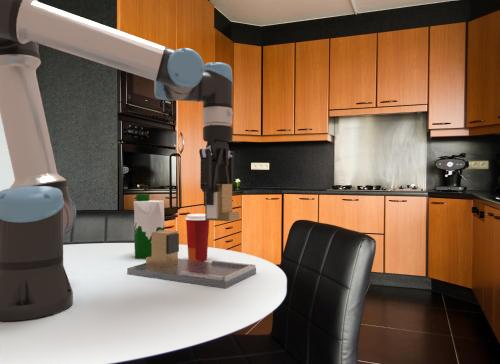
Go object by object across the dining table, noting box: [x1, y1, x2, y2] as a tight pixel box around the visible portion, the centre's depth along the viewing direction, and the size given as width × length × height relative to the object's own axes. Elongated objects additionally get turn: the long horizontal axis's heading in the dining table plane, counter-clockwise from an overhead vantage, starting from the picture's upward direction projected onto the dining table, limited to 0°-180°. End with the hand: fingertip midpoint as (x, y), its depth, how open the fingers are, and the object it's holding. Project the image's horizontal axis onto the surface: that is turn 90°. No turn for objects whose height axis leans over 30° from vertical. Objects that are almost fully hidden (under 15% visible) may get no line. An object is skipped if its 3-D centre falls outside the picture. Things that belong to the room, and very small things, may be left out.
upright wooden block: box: [203, 183, 240, 222], centre depth 100 cm, size 5×8×9 cm, turn 63°
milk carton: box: [133, 193, 165, 260], centre depth 127 cm, size 9×9×20 cm
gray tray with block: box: [126, 229, 257, 289], centre depth 104 cm, size 16×30×10 cm, turn 63°
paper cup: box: [184, 213, 210, 262], centre depth 122 cm, size 8×8×14 cm
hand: (217, 217), depth 101 cm, fingers closed on upright wooden block, 5 cm apart
